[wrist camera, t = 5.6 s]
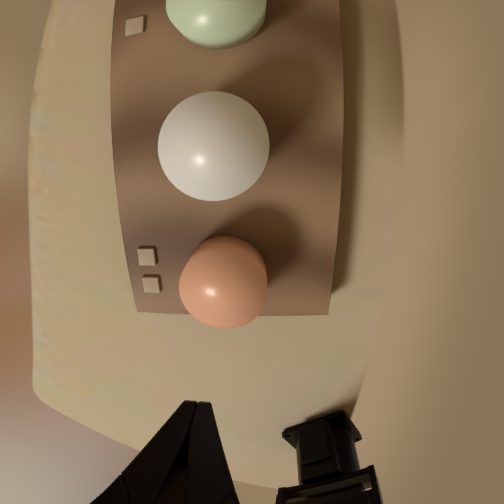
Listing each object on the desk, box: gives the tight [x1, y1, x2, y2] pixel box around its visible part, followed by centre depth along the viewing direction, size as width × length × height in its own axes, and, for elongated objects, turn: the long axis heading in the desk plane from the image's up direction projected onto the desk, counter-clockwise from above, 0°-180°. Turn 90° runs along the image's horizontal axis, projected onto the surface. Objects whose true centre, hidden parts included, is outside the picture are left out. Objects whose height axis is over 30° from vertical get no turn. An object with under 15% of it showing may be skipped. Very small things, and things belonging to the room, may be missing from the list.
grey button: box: [158, 91, 270, 201], centre depth 12 cm, size 4×4×2 cm
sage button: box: [166, 0, 266, 50], centre depth 10 cm, size 4×4×2 cm
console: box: [111, 0, 344, 316], centre depth 15 cm, size 20×12×2 cm, turn 1°
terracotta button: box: [179, 236, 268, 328], centre depth 16 cm, size 4×4×2 cm
